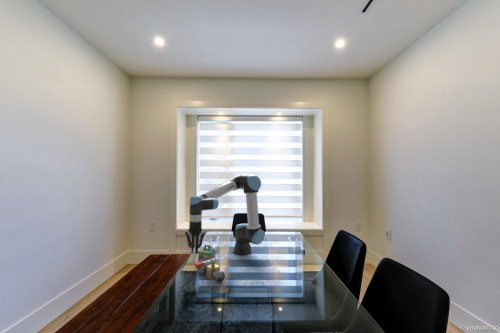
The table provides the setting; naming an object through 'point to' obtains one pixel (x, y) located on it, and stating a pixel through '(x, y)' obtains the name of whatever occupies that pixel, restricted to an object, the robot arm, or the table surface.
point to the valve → (214, 272)
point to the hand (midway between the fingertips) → (194, 258)
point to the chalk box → (206, 254)
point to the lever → (205, 263)
